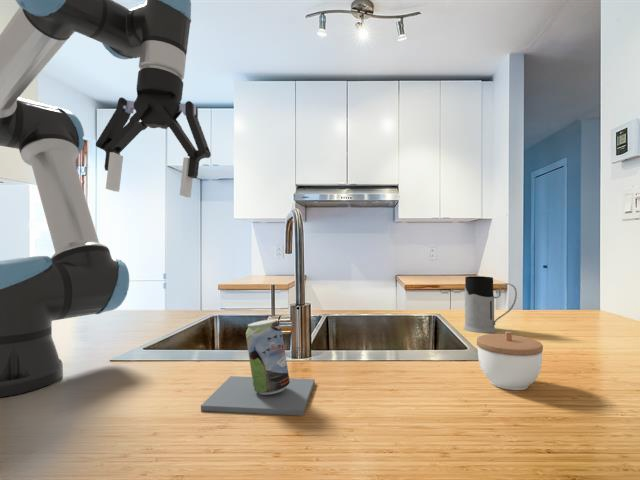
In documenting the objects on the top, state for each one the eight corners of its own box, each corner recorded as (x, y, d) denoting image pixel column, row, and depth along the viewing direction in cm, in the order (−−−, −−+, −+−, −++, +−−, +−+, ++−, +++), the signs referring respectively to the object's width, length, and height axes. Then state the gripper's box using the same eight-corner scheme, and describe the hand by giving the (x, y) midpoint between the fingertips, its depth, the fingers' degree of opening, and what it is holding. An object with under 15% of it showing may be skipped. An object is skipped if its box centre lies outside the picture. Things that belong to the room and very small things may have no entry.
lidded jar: (516, 400, 63) (516, 342, 63) (464, 379, 72) (463, 329, 72) (556, 388, 68) (556, 334, 68) (502, 370, 77) (502, 323, 77)
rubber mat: (200, 410, 60) (200, 405, 60) (230, 380, 73) (230, 376, 73) (302, 415, 58) (302, 410, 58) (314, 383, 71) (314, 379, 71)
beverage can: (284, 400, 62) (282, 324, 62) (240, 397, 63) (239, 323, 63) (294, 385, 68) (293, 317, 68) (254, 383, 69) (253, 316, 69)
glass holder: (468, 324, 118) (467, 275, 118) (519, 330, 110) (519, 277, 110) (459, 330, 111) (459, 278, 111) (514, 337, 103) (513, 280, 103)
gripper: (235, 88, 72) (223, 201, 71) (109, 81, 74) (97, 191, 74) (221, 68, 64) (208, 195, 63) (82, 62, 67) (67, 183, 66)
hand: (148, 193), depth 68 cm, fingers open, 13 cm apart
